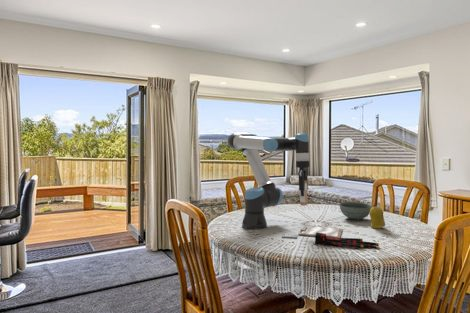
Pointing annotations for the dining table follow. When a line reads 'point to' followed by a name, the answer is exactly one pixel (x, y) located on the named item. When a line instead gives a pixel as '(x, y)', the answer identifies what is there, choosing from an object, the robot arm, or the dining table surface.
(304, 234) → the clipboard
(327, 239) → the toy
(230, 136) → the robot arm
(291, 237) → the grey striped tile
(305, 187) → the pastel stick
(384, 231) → the dining table surface
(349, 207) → the bowl
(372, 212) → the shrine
